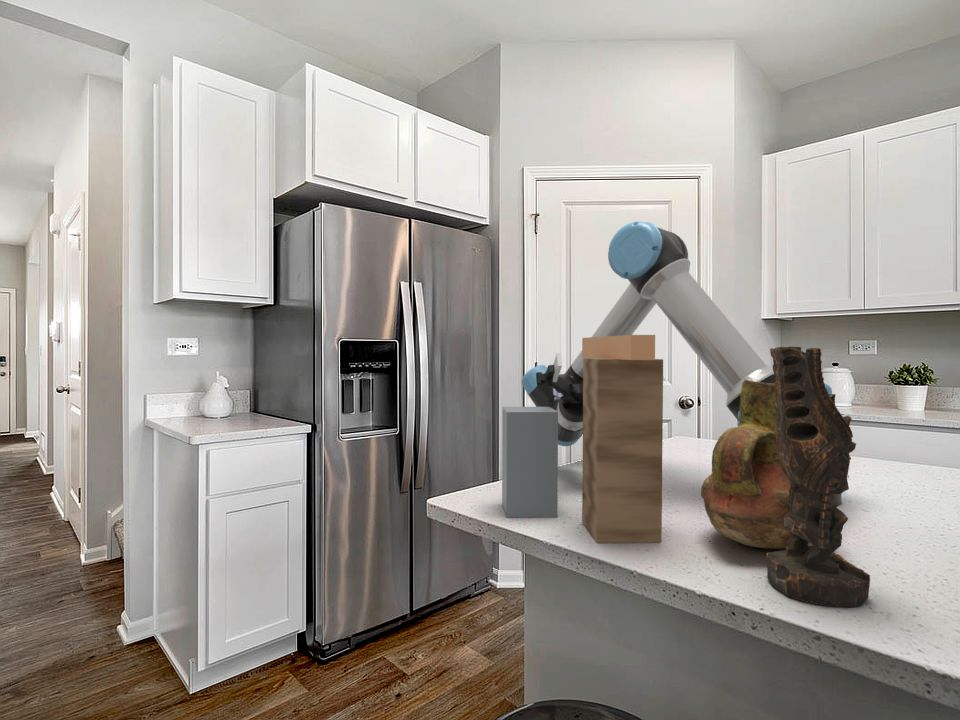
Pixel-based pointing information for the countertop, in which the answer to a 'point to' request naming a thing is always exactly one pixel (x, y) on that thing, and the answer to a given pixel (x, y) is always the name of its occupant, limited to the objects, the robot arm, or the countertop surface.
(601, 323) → the robot arm
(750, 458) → the ceramic vessel
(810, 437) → the statue
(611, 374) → the walnut stand
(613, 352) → the bar
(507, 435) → the slate pedestal
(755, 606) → the countertop surface
